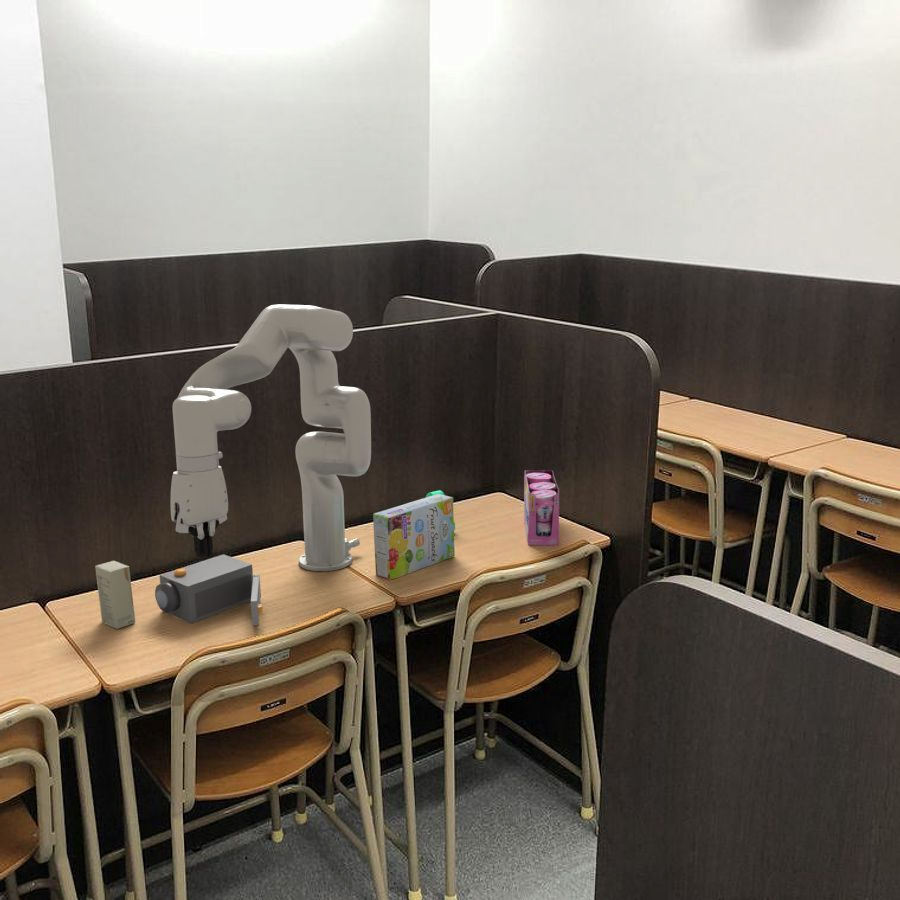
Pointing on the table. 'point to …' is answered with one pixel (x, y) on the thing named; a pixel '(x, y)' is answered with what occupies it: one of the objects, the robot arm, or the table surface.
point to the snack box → (413, 536)
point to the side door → (256, 600)
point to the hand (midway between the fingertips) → (204, 556)
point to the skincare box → (115, 594)
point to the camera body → (205, 588)
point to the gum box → (541, 507)
